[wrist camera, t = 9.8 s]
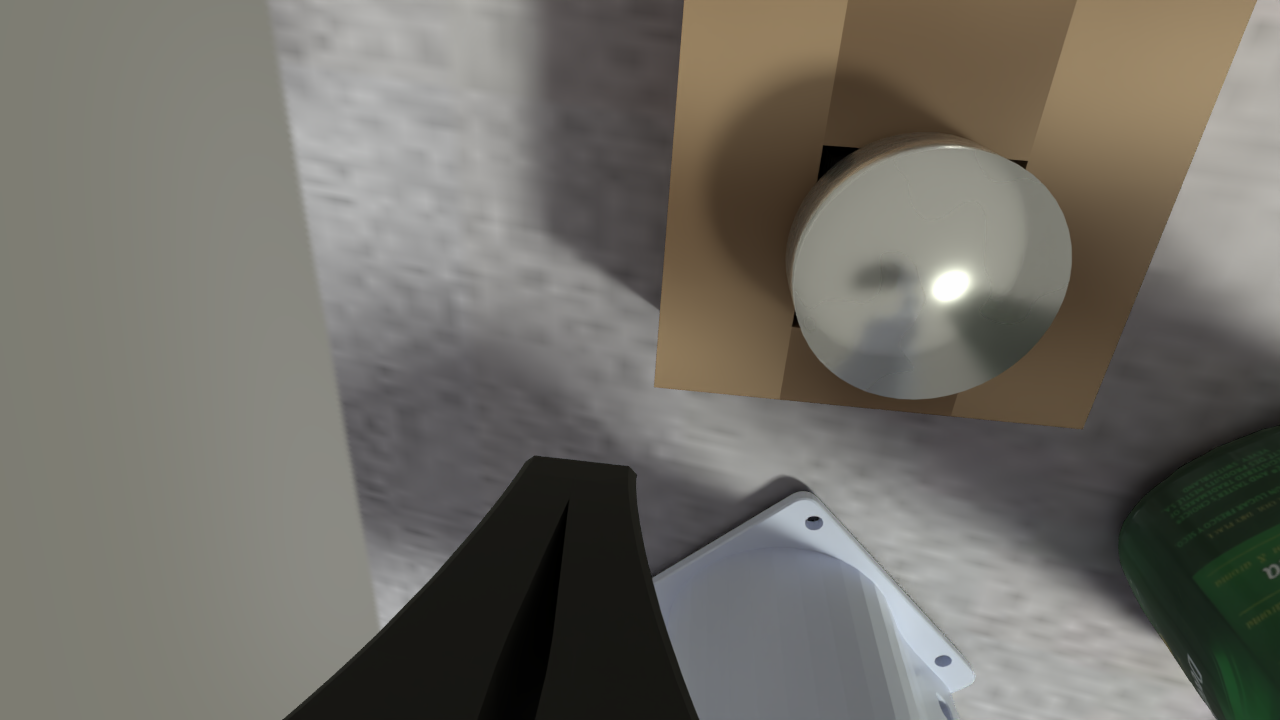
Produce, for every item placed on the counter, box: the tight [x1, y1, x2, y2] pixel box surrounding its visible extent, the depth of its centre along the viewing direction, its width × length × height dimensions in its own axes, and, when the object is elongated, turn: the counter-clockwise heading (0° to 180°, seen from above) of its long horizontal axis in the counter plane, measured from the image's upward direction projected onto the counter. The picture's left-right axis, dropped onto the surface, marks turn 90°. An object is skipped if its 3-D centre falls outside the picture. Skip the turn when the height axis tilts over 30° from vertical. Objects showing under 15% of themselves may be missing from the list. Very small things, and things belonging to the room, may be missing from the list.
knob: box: [786, 132, 1072, 400], centre depth 14 cm, size 4×4×6 cm
